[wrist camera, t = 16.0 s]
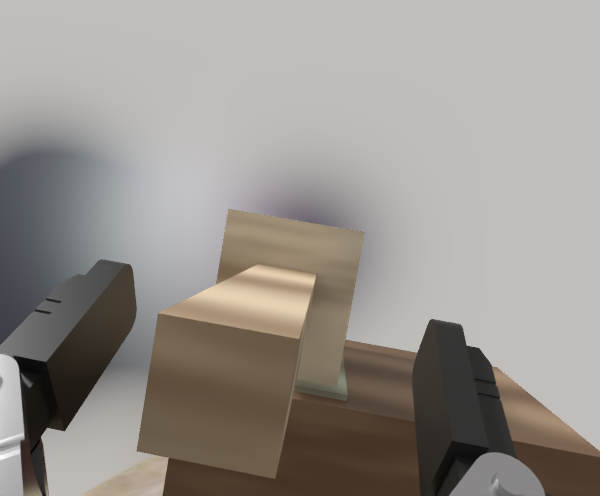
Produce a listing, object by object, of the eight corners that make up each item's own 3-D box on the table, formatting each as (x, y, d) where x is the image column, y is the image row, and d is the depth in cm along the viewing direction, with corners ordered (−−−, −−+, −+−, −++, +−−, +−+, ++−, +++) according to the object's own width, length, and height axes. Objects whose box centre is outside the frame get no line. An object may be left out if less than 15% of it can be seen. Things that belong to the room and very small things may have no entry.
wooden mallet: (349, 612, 10) (418, 236, 9) (30, 544, 10) (83, 179, 10) (334, 340, 34) (353, 231, 33) (240, 322, 34) (258, 215, 34)
